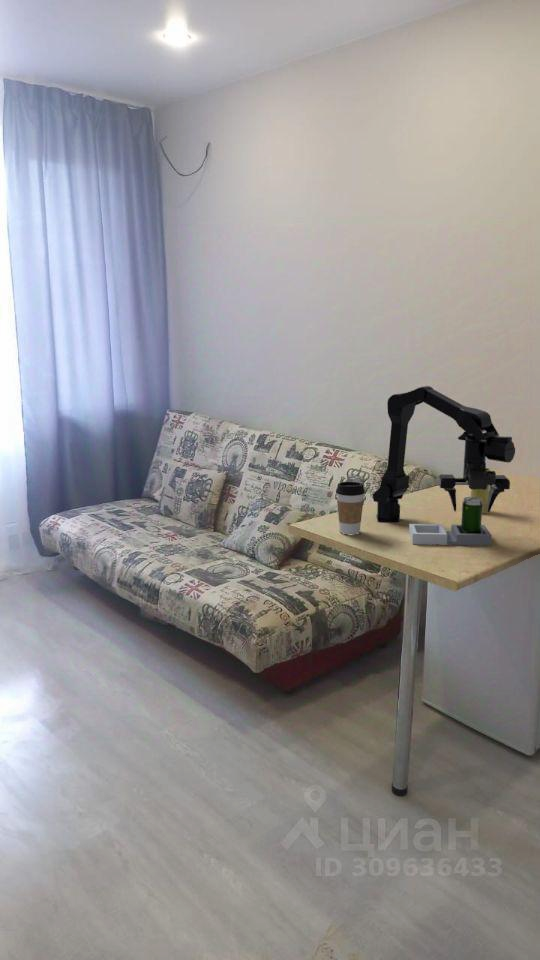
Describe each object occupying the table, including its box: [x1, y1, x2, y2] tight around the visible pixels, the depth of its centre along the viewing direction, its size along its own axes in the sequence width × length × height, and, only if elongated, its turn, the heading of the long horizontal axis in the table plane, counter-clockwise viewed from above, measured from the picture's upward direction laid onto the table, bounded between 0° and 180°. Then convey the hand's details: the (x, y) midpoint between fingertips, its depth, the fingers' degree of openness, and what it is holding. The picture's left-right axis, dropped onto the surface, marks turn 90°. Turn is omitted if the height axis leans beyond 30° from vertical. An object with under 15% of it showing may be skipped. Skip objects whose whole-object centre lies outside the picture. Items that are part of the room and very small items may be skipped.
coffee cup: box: [335, 481, 366, 535], centre depth 205 cm, size 8×8×15 cm
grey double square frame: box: [408, 523, 492, 546], centre depth 199 cm, size 21×9×3 cm, turn 85°
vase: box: [470, 467, 491, 515], centre depth 224 cm, size 6×6×14 cm
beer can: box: [460, 496, 483, 534], centre depth 197 cm, size 5×5×12 cm
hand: (471, 511), depth 197 cm, fingers open, 9 cm apart
